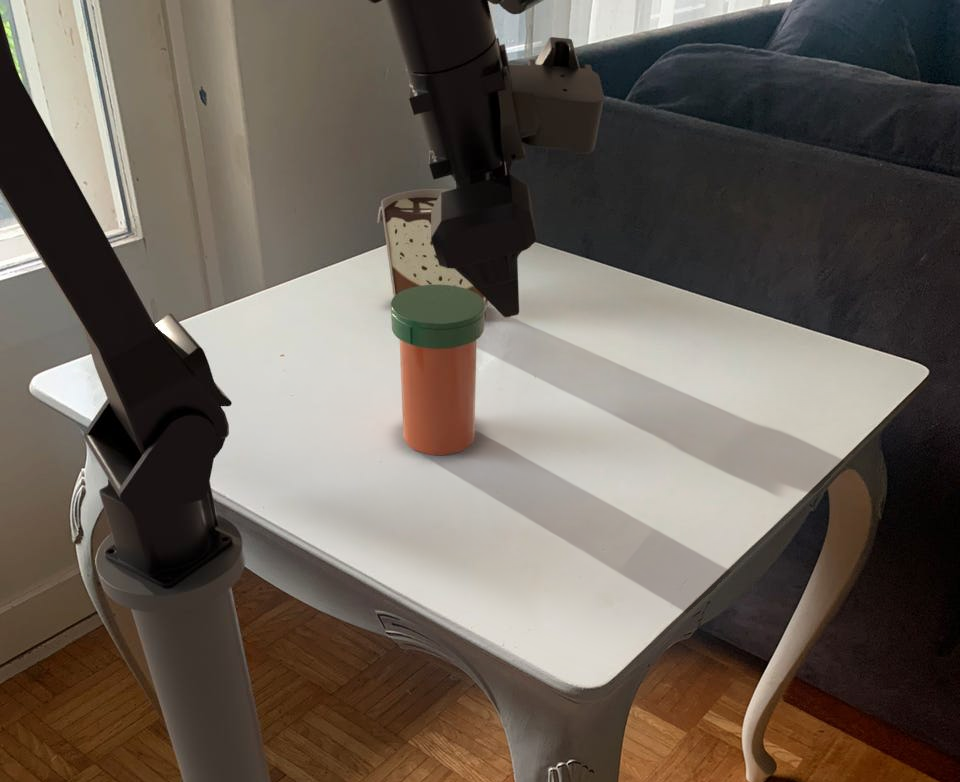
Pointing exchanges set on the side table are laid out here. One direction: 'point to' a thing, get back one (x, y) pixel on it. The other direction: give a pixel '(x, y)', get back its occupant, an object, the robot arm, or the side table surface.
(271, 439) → the side table surface
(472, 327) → the green cylinder
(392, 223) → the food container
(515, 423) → the side table surface
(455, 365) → the jar
